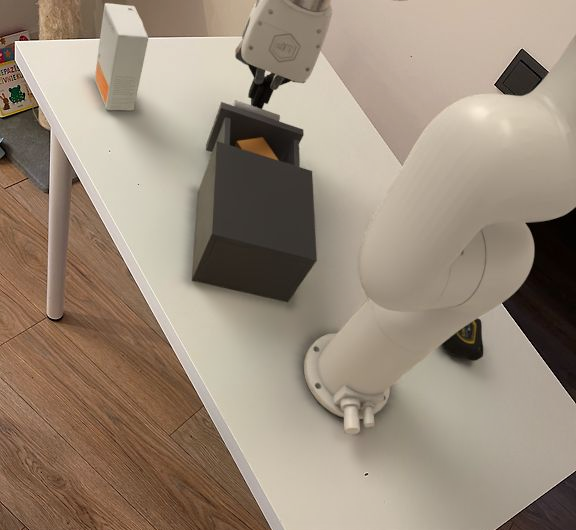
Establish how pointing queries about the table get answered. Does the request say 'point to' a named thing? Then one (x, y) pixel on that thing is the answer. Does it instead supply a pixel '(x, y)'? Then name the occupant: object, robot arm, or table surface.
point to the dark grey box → (255, 130)
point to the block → (256, 147)
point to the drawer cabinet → (254, 224)
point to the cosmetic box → (120, 56)
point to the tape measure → (466, 342)
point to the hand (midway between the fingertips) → (255, 103)
